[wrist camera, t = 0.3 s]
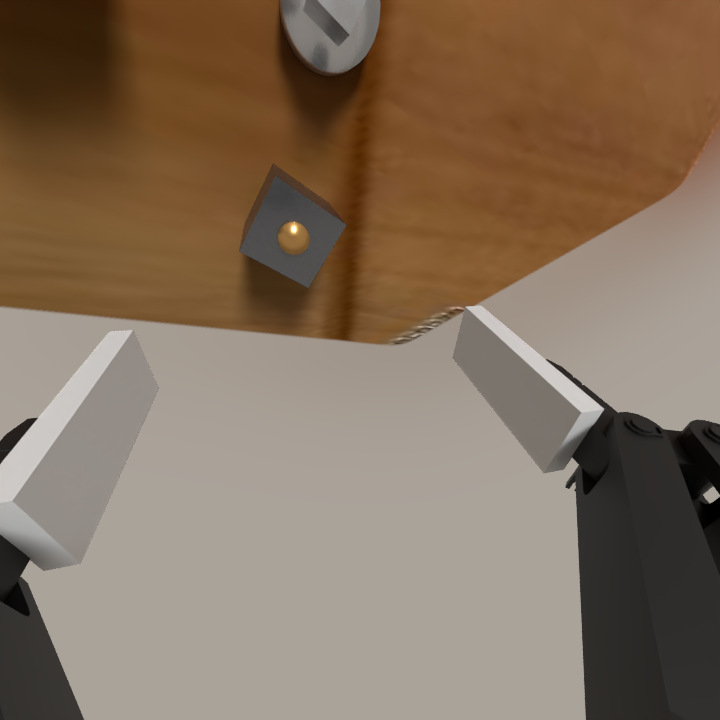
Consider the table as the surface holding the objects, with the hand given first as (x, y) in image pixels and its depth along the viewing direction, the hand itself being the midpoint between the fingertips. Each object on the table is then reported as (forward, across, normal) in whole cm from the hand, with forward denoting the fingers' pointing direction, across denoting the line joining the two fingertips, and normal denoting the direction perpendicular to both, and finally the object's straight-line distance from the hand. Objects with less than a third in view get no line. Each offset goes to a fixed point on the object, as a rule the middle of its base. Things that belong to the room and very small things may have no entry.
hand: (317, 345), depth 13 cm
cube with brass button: (+24, 0, +1) cm, 24 cm away
